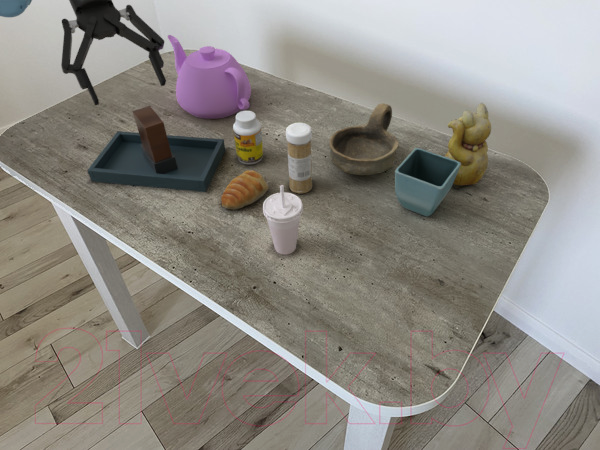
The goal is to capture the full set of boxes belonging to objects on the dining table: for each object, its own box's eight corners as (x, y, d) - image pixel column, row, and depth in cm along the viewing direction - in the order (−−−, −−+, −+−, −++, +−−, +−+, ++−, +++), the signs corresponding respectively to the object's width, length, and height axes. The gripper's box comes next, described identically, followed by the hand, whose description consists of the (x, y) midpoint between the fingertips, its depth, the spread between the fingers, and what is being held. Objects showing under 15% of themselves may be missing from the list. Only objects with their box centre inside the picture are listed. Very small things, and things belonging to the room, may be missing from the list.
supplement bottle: (232, 161, 101) (225, 118, 94) (246, 147, 104) (241, 105, 97) (254, 168, 99) (249, 126, 91) (268, 154, 102) (265, 112, 95)
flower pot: (409, 184, 94) (415, 145, 88) (452, 200, 90) (462, 161, 84) (388, 209, 89) (393, 171, 83) (433, 228, 85) (442, 189, 79)
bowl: (314, 172, 97) (314, 130, 90) (357, 131, 108) (360, 90, 101) (374, 196, 92) (379, 153, 85) (414, 151, 102) (421, 109, 95)
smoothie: (268, 262, 80) (262, 199, 71) (264, 235, 85) (258, 173, 75) (306, 257, 81) (305, 194, 71) (300, 231, 86) (298, 168, 76)
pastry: (239, 218, 88) (237, 202, 86) (212, 204, 91) (209, 188, 89) (271, 190, 94) (270, 175, 91) (245, 178, 97) (242, 163, 94)
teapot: (274, 102, 117) (270, 47, 108) (222, 135, 108) (213, 78, 98) (203, 73, 129) (194, 21, 119) (151, 101, 119) (136, 47, 110)
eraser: (143, 156, 101) (129, 110, 94) (163, 149, 103) (151, 103, 95) (157, 176, 96) (143, 129, 89) (178, 168, 98) (166, 122, 90)
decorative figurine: (458, 159, 99) (475, 93, 89) (493, 177, 95) (515, 110, 84) (429, 179, 95) (443, 112, 84) (464, 199, 90) (484, 131, 80)
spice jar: (311, 179, 96) (311, 120, 86) (312, 194, 93) (312, 135, 83) (288, 180, 96) (285, 121, 86) (288, 195, 93) (285, 136, 83)
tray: (91, 181, 97) (87, 170, 95) (121, 141, 107) (117, 130, 105) (206, 192, 94) (203, 181, 92) (225, 150, 104) (223, 139, 102)
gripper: (146, -12, 102) (187, 82, 104) (22, 15, 93) (68, 117, 95) (149, -32, 95) (192, 68, 97) (15, -6, 86) (65, 105, 88)
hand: (131, 93), depth 96 cm, fingers open, 13 cm apart
